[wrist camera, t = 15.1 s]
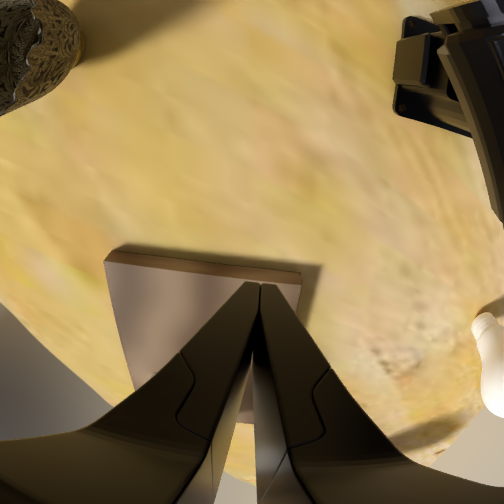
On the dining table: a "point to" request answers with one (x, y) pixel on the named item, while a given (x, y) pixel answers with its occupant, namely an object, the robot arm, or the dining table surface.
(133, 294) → the board
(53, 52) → the dark bronze hollow piece
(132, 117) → the dining table surface
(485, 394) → the lightbulb
